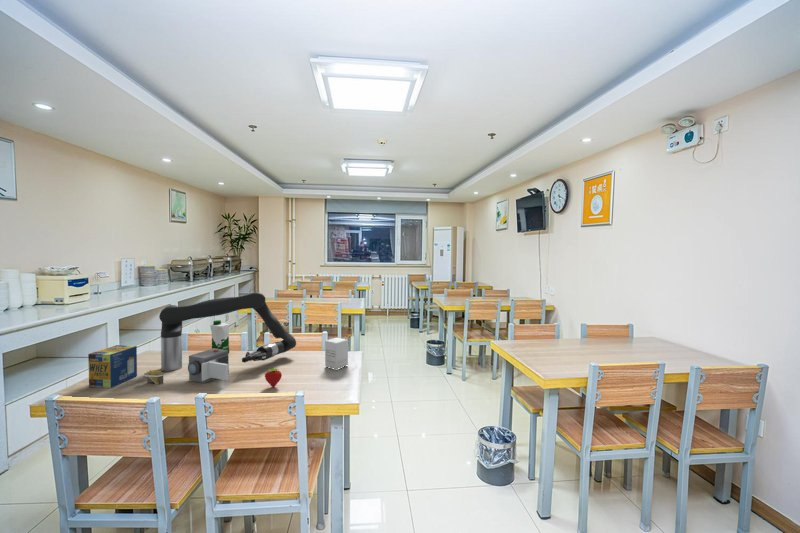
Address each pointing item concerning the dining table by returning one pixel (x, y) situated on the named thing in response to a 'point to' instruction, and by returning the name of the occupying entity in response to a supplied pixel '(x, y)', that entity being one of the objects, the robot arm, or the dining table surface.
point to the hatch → (214, 370)
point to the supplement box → (336, 353)
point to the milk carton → (220, 335)
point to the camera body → (203, 357)
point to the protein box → (112, 366)
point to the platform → (154, 376)
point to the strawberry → (273, 377)
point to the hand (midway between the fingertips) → (243, 360)
